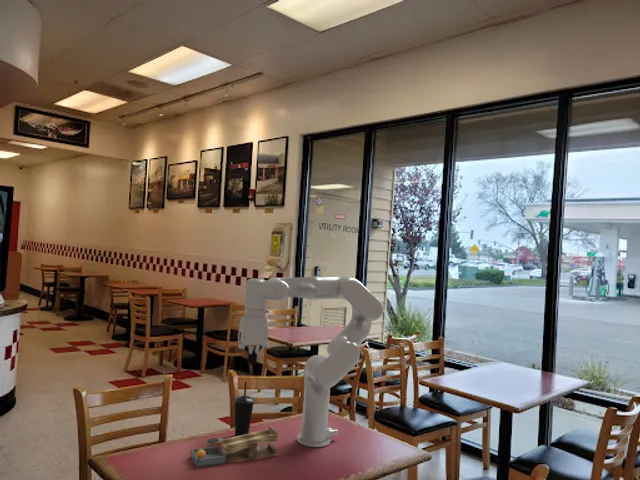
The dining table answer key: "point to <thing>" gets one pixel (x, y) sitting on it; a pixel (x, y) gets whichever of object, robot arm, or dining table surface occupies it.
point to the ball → (200, 454)
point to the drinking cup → (243, 413)
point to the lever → (245, 440)
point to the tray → (209, 457)
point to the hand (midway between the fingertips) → (251, 364)
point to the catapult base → (251, 453)
